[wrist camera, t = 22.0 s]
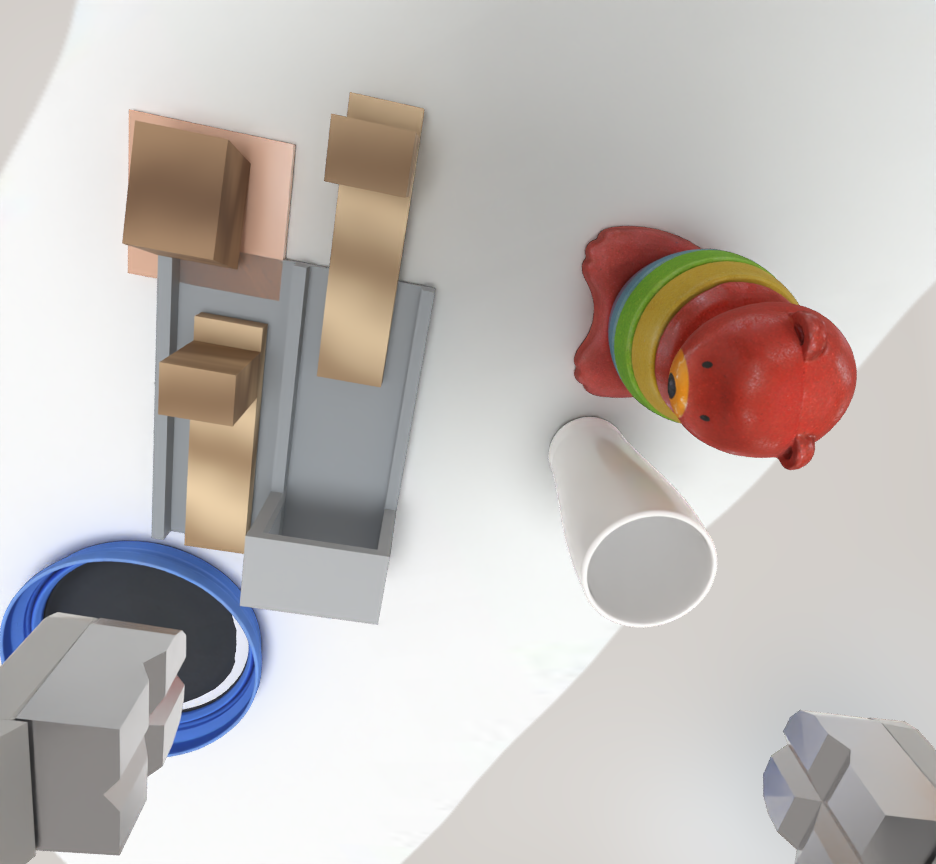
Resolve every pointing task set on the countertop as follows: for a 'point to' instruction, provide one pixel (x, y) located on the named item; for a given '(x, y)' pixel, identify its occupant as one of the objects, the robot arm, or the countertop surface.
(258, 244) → the coaster
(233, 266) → the walnut block
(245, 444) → the strip far
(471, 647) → the countertop surface
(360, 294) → the strip near
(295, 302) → the lane board
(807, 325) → the stacking bear
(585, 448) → the drinking glass
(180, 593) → the blue round shallow tray
